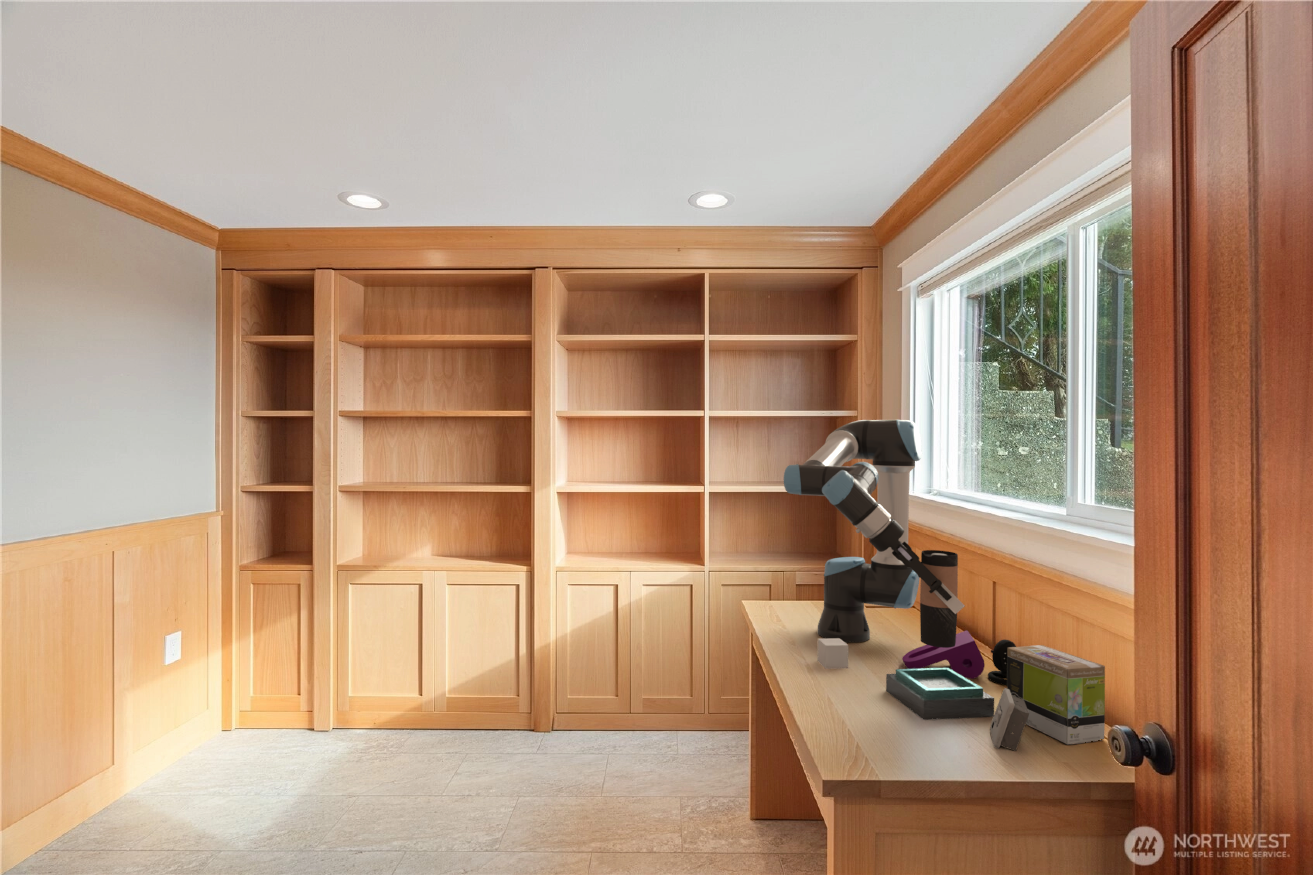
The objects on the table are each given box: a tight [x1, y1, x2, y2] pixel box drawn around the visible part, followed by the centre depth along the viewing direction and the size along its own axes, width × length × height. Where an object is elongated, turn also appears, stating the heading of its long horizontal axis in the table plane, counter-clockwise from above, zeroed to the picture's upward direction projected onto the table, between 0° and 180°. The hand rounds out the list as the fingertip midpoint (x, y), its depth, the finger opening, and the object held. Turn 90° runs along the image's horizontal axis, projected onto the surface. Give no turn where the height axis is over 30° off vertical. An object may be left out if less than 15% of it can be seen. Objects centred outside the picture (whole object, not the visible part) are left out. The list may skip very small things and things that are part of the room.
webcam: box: [987, 639, 1017, 686], centre depth 161 cm, size 8×8×10 cm
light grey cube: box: [816, 638, 849, 670], centre depth 171 cm, size 6×6×6 cm
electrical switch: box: [989, 687, 1029, 752], centre depth 127 cm, size 9×5×9 cm, turn 158°
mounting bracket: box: [901, 629, 986, 679], centre depth 169 cm, size 9×8×18 cm
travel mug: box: [919, 549, 959, 648], centre depth 146 cm, size 8×8×20 cm
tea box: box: [1006, 644, 1106, 745], centre depth 135 cm, size 15×10×15 cm, turn 17°
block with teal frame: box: [885, 667, 995, 721], centre depth 146 cm, size 16×16×6 cm
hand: (955, 605), depth 145 cm, fingers closed on travel mug, 7 cm apart
